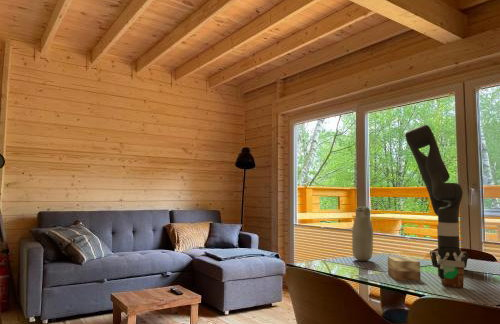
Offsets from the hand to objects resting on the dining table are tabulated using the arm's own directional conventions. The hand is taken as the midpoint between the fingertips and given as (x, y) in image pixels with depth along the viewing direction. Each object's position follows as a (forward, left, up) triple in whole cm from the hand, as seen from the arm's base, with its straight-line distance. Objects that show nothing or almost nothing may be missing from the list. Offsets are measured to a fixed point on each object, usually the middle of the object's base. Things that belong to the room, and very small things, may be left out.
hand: (449, 278), depth 153 cm
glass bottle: (+22, -52, -3) cm, 56 cm away
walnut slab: (+14, -12, -3) cm, 18 cm away
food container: (+1, 0, -3) cm, 3 cm away
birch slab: (+14, -12, +1) cm, 18 cm away
